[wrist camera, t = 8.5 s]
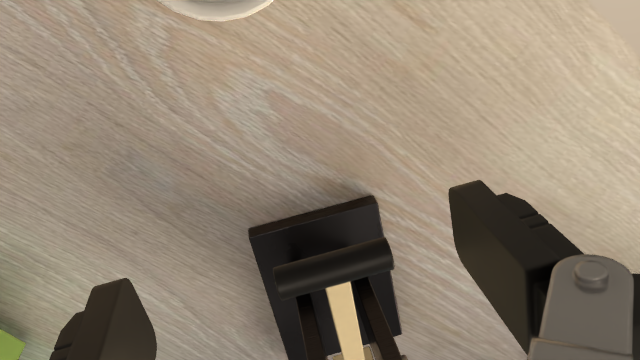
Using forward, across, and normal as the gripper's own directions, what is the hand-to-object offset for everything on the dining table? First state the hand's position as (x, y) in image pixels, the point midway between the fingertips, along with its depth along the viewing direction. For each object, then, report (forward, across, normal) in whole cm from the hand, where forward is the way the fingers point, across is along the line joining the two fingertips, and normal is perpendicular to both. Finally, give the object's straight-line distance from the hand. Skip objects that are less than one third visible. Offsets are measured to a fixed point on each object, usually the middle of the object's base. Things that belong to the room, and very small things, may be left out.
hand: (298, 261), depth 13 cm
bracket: (+21, -1, +17) cm, 27 cm away
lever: (+10, -1, +11) cm, 15 cm away
